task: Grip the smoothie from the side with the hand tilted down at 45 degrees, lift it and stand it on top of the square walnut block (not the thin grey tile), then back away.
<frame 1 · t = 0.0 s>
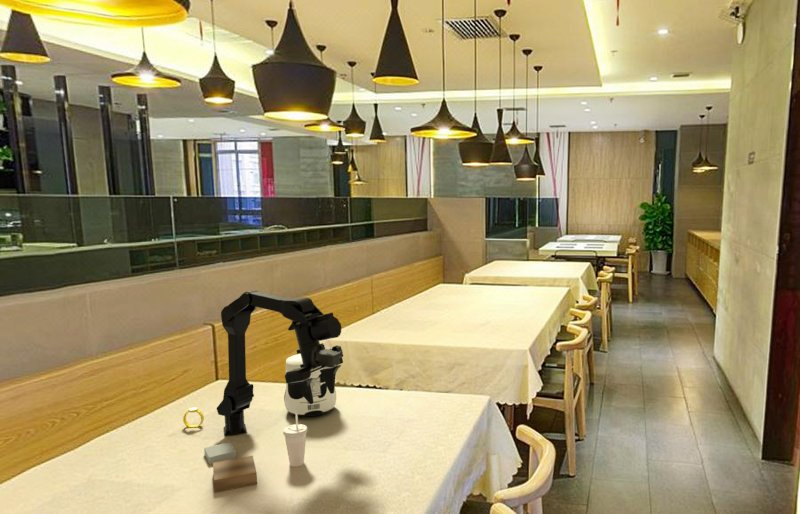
hand: (322, 398, 150), 15 cm above the table, tool pointing down, fingers open, 9 cm apart
walnut block: (234, 478, 138), on the table
grey tile: (220, 456, 151), on the table
smoothie: (296, 464, 146), on the table
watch: (194, 427, 173), on the table
milk container: (311, 411, 184), on the table
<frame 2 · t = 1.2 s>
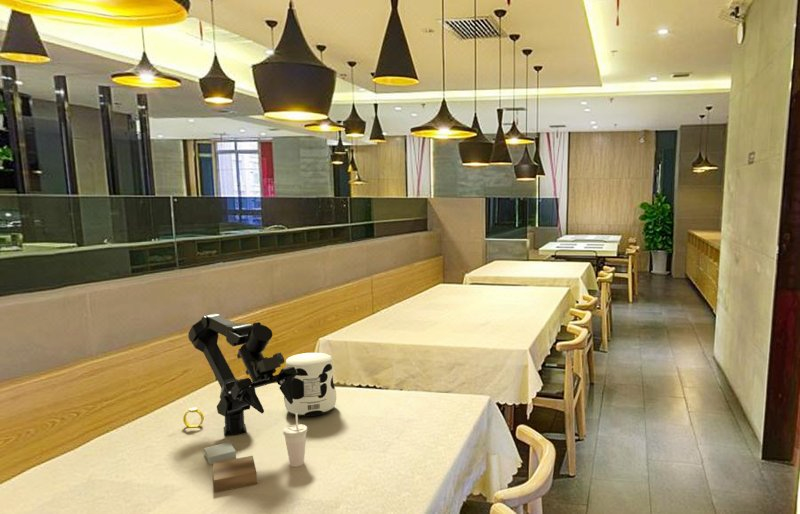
hand: (277, 407, 150), 13 cm above the table, tool tilted 45°, fingers open, 9 cm apart
nothing on the table moved.
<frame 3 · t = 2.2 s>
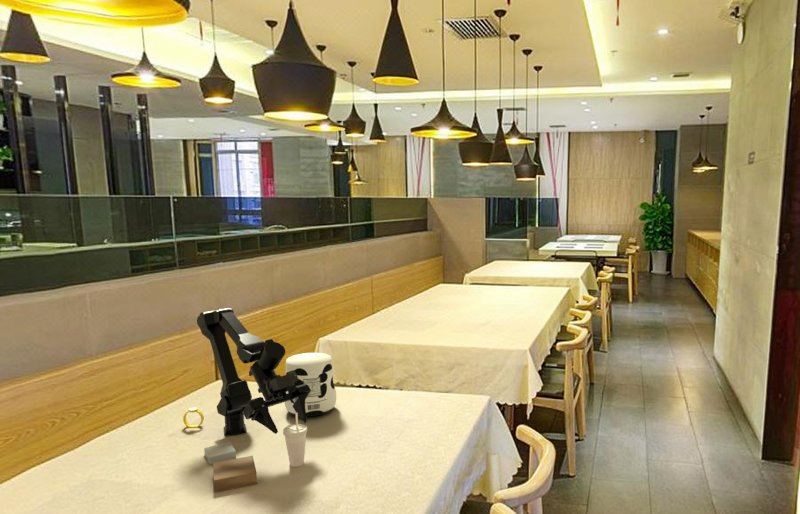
hand: (291, 427, 146), 9 cm above the table, tool tilted 45°, fingers open, 9 cm apart
nothing on the table moved.
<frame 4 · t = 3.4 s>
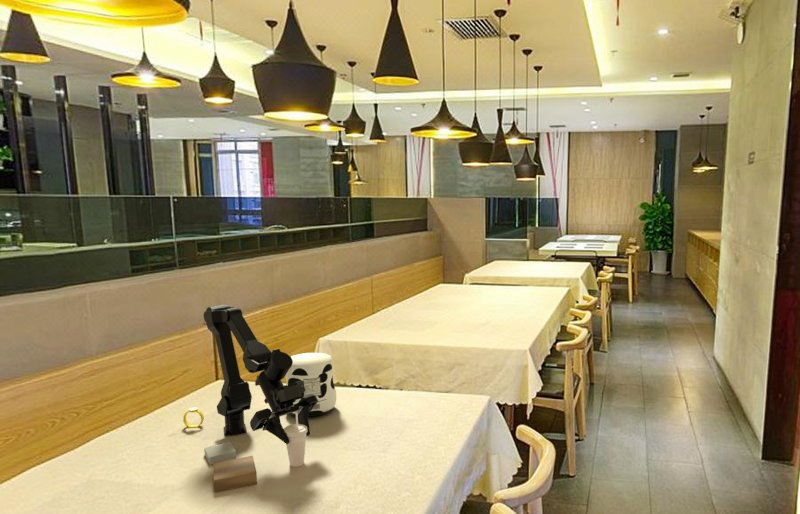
hand: (298, 439, 144), 7 cm above the table, tool tilted 45°, fingers closed on smoothie, 6 cm apart
smoothie: (296, 464, 146), on the table, touching gripper
everything else where it was.
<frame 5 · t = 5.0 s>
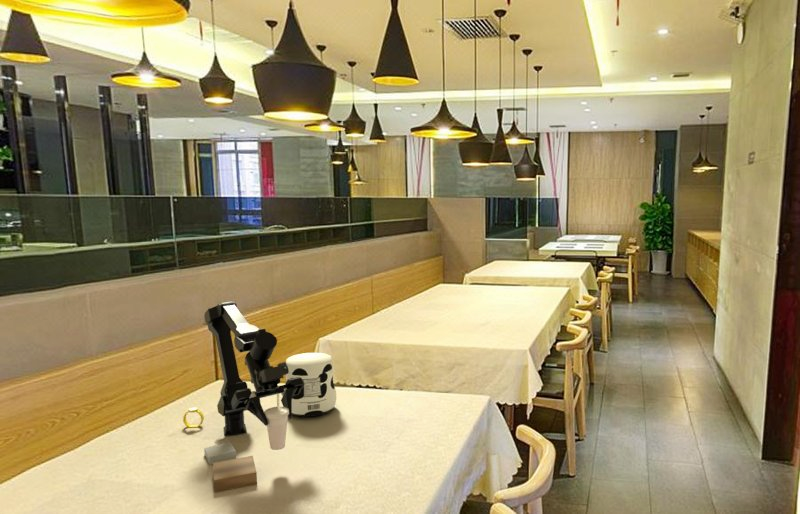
hand: (278, 421, 141), 13 cm above the table, tool tilted 45°, fingers closed on smoothie, 6 cm apart
smoothie: (277, 447, 142), point 6 cm above the table, touching gripper
everything else where it was.
when the fingers open (11 cm above the table, at t = 6.7 s): smoothie stays where it is, resting on walnut block.
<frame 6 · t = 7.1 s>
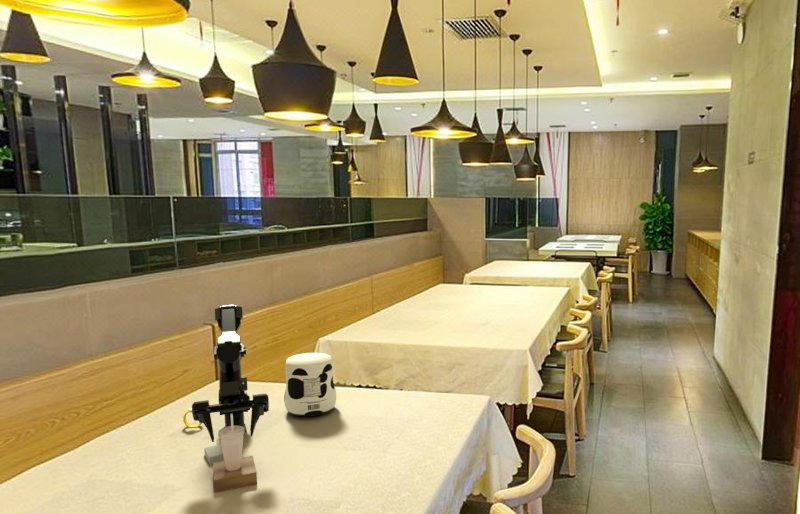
hand: (232, 438, 136), 11 cm above the table, tool tilted 45°, fingers open, 9 cm apart
smoothie: (233, 467, 138), point 3 cm above the table, touching walnut block
everything else where it was.
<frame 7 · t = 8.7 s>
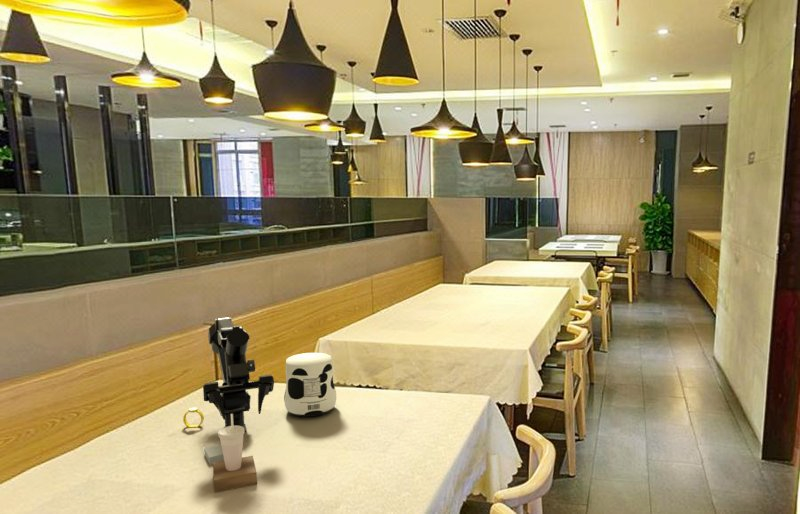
hand: (242, 416, 147), 12 cm above the table, tool tilted 45°, fingers open, 9 cm apart
nothing on the table moved.
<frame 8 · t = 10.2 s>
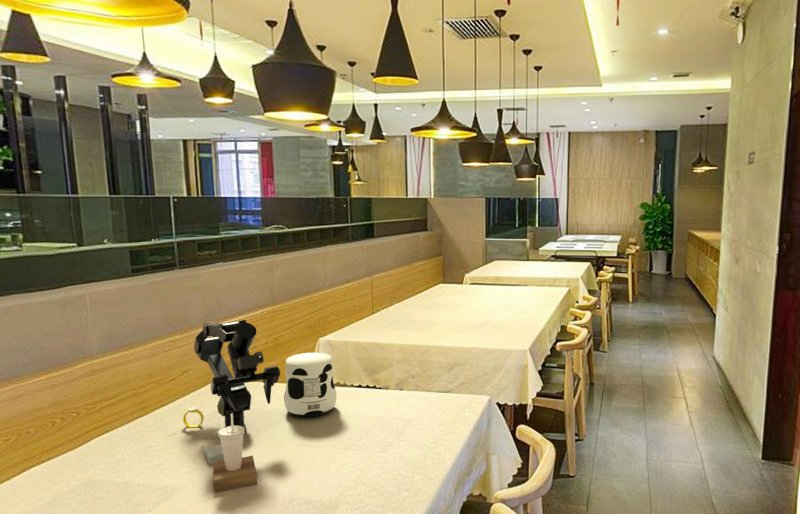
hand: (252, 406, 151), 14 cm above the table, tool tilted 45°, fingers open, 9 cm apart
nothing on the table moved.
at the end: smoothie inside the target area on the walnut block (0.2 cm from its centre), point 2.8 cm above the walnut block's base; smoothie tilted 0°; the gripper is holding nothing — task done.
